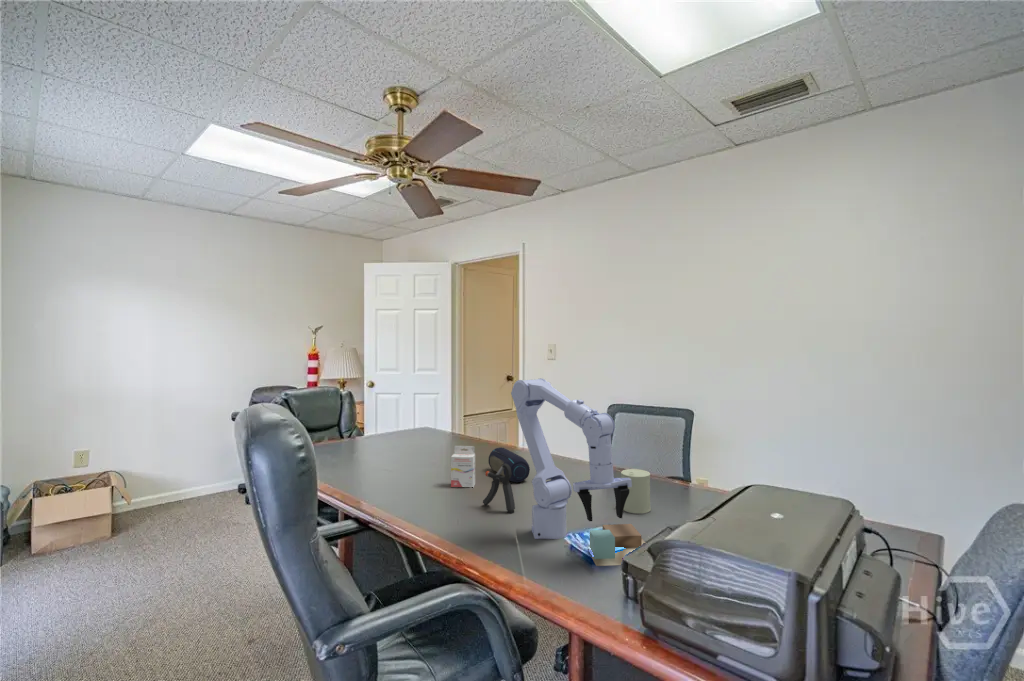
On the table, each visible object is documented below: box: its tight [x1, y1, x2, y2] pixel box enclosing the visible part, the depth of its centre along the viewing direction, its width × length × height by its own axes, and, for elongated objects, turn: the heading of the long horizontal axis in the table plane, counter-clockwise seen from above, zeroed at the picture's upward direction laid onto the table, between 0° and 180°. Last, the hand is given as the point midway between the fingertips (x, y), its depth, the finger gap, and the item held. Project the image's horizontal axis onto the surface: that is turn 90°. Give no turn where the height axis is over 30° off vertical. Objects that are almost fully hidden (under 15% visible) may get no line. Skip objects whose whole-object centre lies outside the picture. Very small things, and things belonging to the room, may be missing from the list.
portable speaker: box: [488, 447, 531, 483], centre depth 193 cm, size 25×10×10 cm, turn 23°
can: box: [620, 468, 652, 515], centre depth 154 cm, size 9×9×12 cm
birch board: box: [591, 538, 646, 567], centre depth 122 cm, size 16×18×1 cm
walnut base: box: [601, 523, 643, 548], centre depth 126 cm, size 8×8×3 cm
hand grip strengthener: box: [482, 463, 516, 514], centre depth 155 cm, size 2×12×15 cm, turn 51°
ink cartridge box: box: [450, 445, 476, 488], centre depth 180 cm, size 9×5×15 cm, turn 84°
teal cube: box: [589, 529, 615, 559], centre depth 118 cm, size 5×5×5 cm
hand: (604, 518), depth 119 cm, fingers open, 7 cm apart
